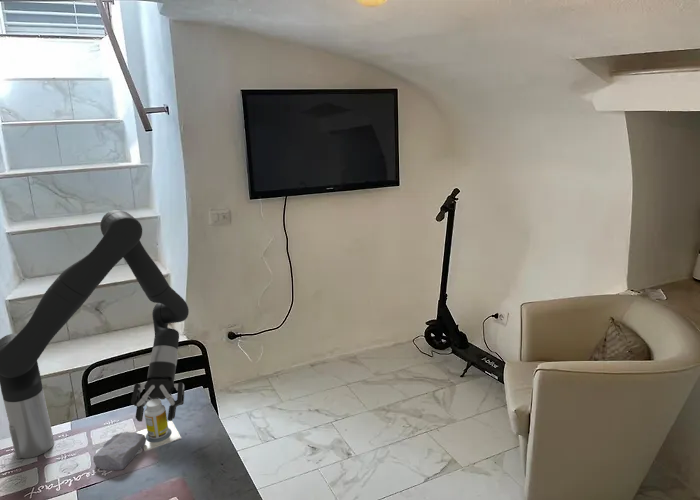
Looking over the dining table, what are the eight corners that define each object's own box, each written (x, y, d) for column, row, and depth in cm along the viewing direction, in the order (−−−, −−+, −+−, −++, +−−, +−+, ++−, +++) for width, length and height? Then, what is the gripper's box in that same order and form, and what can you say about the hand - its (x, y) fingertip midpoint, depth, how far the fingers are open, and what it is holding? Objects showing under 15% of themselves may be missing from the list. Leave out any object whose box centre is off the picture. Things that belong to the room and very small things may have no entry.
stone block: (92, 474, 140) (124, 471, 137) (86, 458, 139) (118, 455, 136) (120, 446, 151) (150, 443, 148) (114, 431, 150) (145, 428, 147)
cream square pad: (144, 451, 145) (144, 450, 145) (136, 432, 154) (136, 431, 153) (181, 438, 151) (181, 437, 150) (171, 421, 159) (171, 420, 159)
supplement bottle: (170, 427, 155) (165, 396, 152) (167, 438, 150) (162, 406, 147) (150, 429, 154) (145, 398, 151) (146, 441, 149) (141, 409, 146)
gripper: (134, 360, 154) (124, 418, 146) (183, 359, 154) (176, 417, 146) (143, 368, 160) (134, 424, 152) (190, 366, 160) (183, 422, 152)
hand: (154, 420), depth 149 cm, fingers open, 8 cm apart
